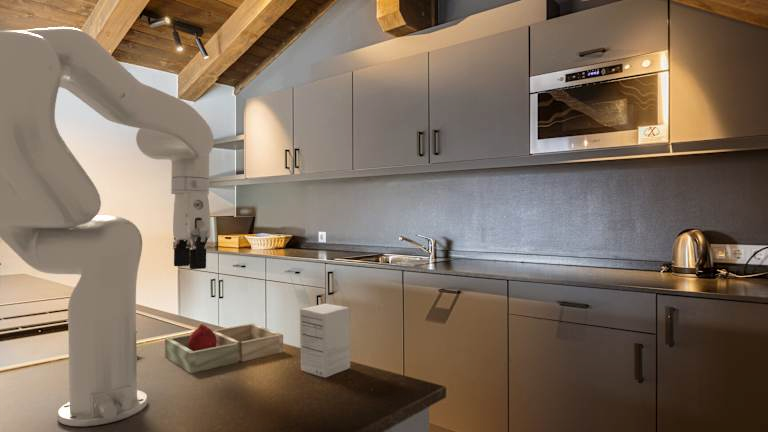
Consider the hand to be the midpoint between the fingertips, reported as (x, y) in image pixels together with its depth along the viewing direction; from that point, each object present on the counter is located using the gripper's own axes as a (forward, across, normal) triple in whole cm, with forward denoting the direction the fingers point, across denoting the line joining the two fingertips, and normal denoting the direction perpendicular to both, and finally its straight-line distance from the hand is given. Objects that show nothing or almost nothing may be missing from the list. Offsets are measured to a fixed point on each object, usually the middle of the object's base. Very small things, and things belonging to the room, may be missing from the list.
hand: (189, 267), depth 103 cm
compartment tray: (+20, +1, -8) cm, 22 cm away
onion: (+20, +1, -3) cm, 21 cm away
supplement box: (+21, -23, -19) cm, 36 cm away
